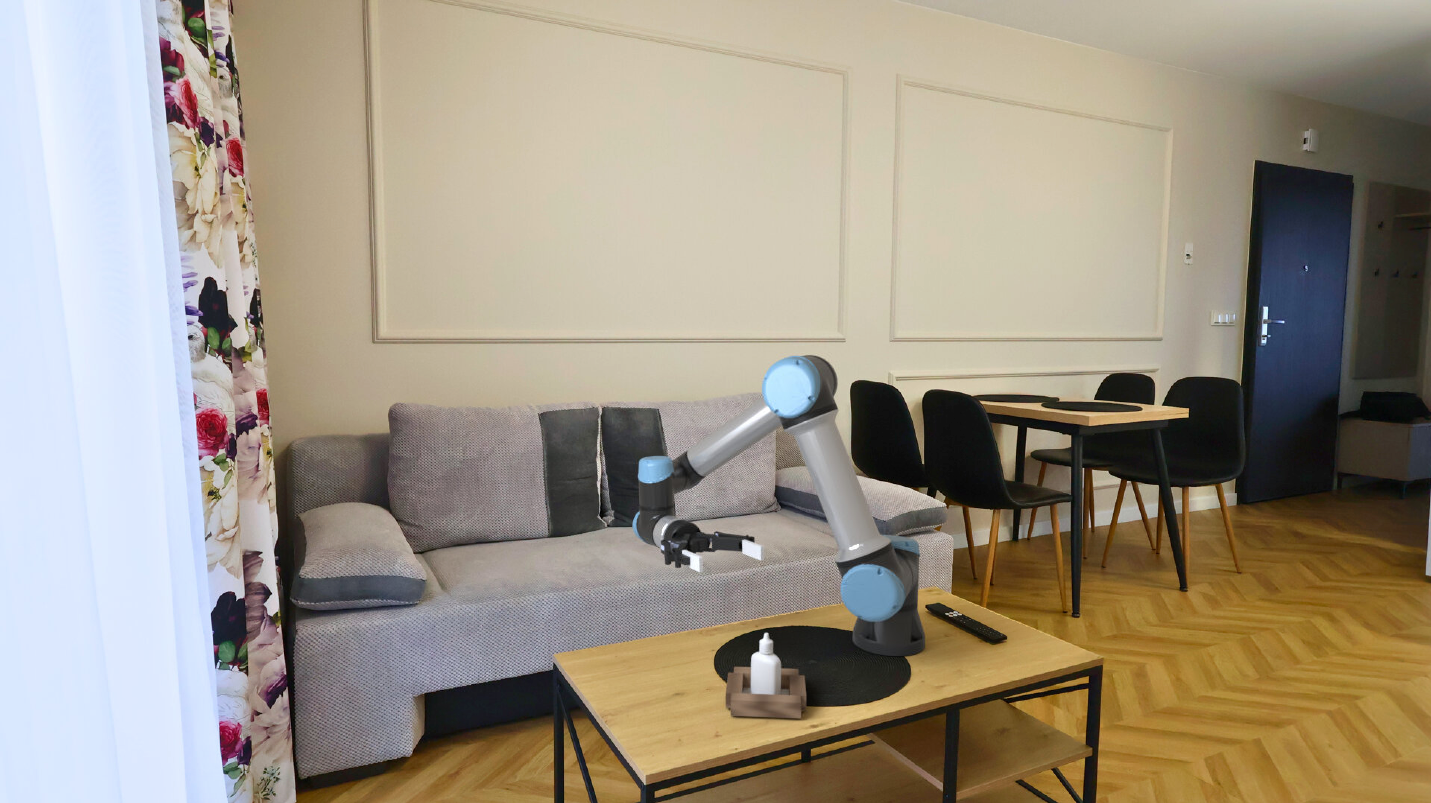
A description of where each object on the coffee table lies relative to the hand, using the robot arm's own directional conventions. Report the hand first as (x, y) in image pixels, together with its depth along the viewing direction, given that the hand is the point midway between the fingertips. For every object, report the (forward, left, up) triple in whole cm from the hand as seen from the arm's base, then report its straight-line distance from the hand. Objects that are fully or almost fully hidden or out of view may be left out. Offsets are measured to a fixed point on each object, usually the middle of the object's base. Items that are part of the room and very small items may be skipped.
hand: (732, 558), depth 154 cm
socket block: (-7, +8, -24) cm, 26 cm away
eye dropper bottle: (-7, +8, -23) cm, 25 cm away
